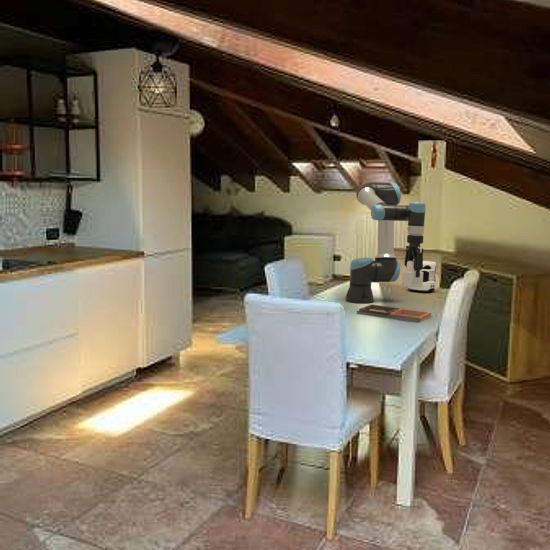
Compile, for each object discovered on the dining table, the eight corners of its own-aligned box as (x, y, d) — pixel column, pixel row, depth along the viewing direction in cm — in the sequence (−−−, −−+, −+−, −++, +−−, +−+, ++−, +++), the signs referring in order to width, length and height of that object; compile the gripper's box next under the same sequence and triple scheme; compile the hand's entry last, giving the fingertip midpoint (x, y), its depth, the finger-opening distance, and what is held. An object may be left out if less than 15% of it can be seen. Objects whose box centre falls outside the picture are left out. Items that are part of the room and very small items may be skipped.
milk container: (407, 288, 381) (408, 259, 379) (435, 290, 377) (437, 261, 374) (405, 292, 364) (407, 262, 362) (435, 294, 360) (437, 264, 358)
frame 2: (401, 312, 302) (401, 308, 302) (430, 316, 294) (430, 312, 294) (389, 317, 290) (389, 313, 289) (420, 321, 282) (420, 317, 281)
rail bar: (358, 313, 298) (358, 310, 297) (419, 321, 281) (420, 319, 281) (356, 313, 296) (356, 311, 296) (418, 322, 280) (418, 320, 279)
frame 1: (371, 308, 311) (371, 304, 310) (399, 312, 303) (399, 308, 302) (358, 312, 298) (359, 308, 298) (387, 317, 290) (387, 312, 290)
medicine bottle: (414, 284, 294) (415, 260, 293) (422, 287, 288) (424, 261, 286) (401, 285, 292) (403, 260, 290) (409, 287, 285) (411, 262, 283)
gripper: (398, 233, 295) (396, 279, 299) (417, 236, 276) (414, 286, 279) (413, 233, 297) (410, 279, 300) (432, 236, 277) (429, 286, 280)
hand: (412, 282), depth 290 cm, fingers closed on medicine bottle, 8 cm apart
